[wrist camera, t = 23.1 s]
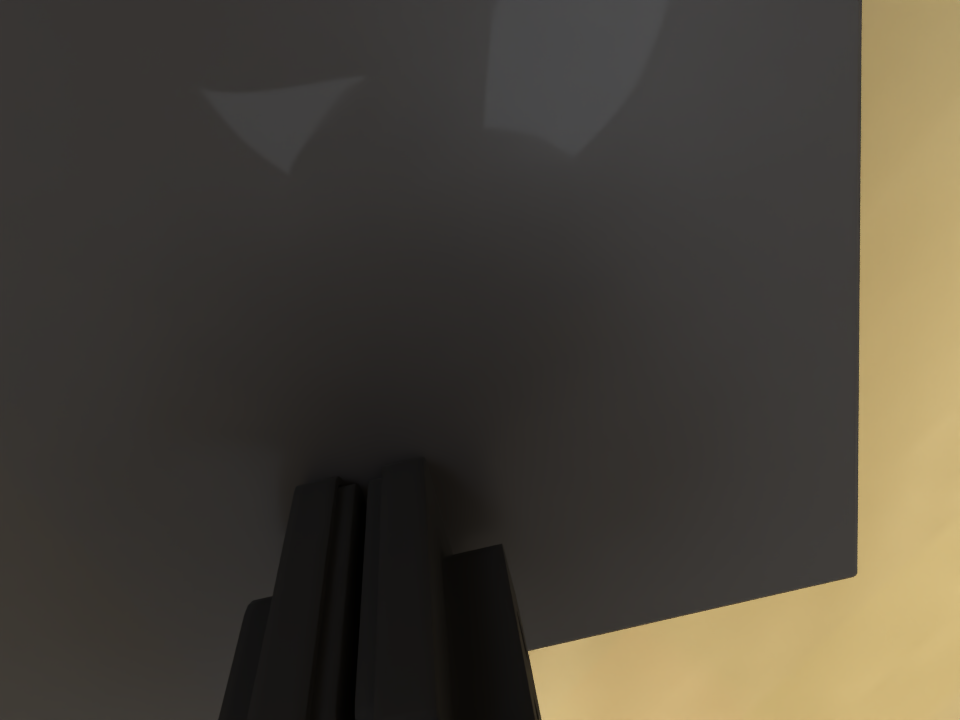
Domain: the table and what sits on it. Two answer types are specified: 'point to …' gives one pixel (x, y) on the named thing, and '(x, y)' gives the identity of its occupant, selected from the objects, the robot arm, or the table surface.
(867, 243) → the table surface
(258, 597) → the case lid
